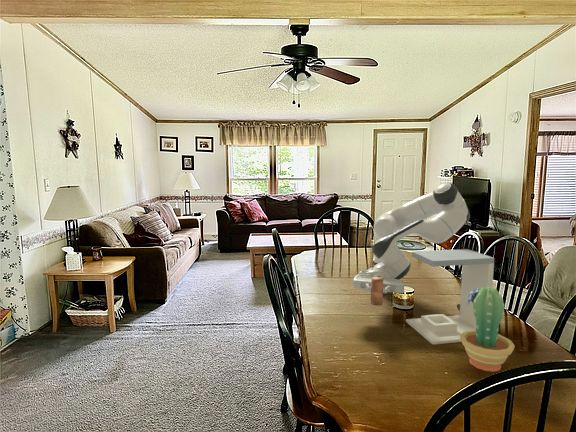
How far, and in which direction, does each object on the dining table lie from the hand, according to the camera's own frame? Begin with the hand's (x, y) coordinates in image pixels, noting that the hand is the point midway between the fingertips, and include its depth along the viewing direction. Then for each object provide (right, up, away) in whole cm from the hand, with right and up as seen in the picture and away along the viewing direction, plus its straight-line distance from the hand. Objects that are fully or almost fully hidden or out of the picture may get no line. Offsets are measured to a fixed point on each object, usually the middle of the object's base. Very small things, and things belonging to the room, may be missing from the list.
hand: (376, 290), depth 142 cm
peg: (0, -5, +2) cm, 6 cm away
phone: (+45, -14, +18) cm, 50 cm away
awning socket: (+28, -16, +1) cm, 32 cm away
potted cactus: (+29, -19, -24) cm, 42 cm away
